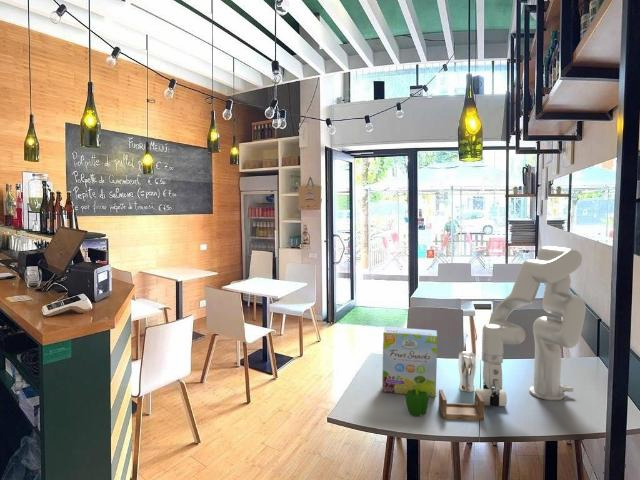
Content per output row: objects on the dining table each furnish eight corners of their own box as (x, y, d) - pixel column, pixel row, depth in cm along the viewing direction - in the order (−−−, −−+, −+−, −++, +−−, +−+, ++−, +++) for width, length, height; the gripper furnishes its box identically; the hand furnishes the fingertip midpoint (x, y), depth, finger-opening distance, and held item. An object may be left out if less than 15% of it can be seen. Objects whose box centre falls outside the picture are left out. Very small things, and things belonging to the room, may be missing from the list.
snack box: (381, 393, 181) (382, 331, 179) (383, 384, 190) (383, 326, 187) (436, 398, 176) (437, 335, 174) (435, 389, 185) (436, 328, 183)
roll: (502, 403, 172) (502, 387, 173) (507, 408, 167) (506, 391, 167) (475, 402, 174) (475, 387, 174) (479, 407, 168) (479, 390, 168)
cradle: (477, 408, 167) (478, 390, 167) (484, 420, 158) (484, 401, 158) (438, 407, 169) (439, 389, 168) (442, 418, 160) (443, 399, 159)
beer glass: (476, 393, 180) (477, 357, 179) (458, 392, 182) (459, 356, 181) (474, 386, 187) (475, 352, 186) (457, 385, 189) (457, 351, 187)
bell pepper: (429, 419, 159) (429, 392, 158) (405, 417, 161) (406, 391, 160) (427, 408, 167) (427, 383, 167) (405, 407, 169) (405, 381, 168)
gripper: (509, 365, 159) (508, 411, 161) (495, 350, 177) (494, 391, 178) (488, 364, 160) (486, 410, 162) (476, 349, 177) (475, 390, 179)
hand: (490, 400), depth 170 cm, fingers open, 9 cm apart
